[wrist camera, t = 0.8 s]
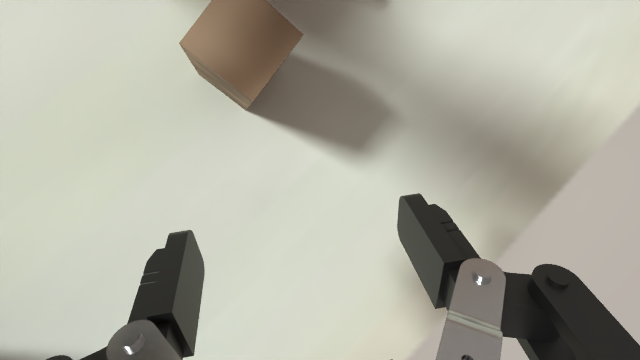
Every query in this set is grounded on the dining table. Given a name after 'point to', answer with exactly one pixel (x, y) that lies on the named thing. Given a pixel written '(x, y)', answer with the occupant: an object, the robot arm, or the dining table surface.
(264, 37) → the walnut block
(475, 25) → the dining table surface
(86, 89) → the dining table surface
